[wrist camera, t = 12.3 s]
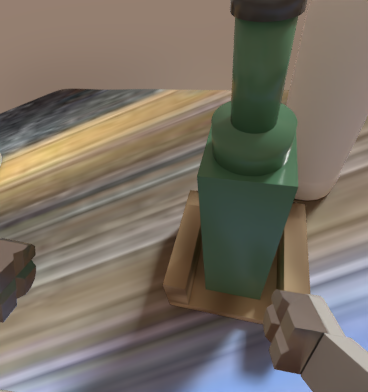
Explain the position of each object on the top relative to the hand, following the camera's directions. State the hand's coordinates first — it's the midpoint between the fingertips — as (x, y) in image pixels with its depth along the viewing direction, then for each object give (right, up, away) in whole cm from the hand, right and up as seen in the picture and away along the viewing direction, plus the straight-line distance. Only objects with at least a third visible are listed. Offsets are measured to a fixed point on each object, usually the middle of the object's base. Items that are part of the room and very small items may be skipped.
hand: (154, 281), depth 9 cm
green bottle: (+6, -5, +19) cm, 20 cm away
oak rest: (+7, -5, +20) cm, 22 cm away
